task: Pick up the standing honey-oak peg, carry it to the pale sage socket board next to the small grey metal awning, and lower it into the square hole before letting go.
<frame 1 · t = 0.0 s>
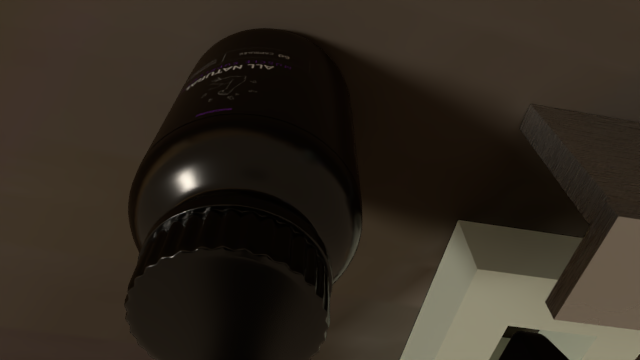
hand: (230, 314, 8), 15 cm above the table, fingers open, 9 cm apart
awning: (609, 131, 23), on the table
supplement bottle: (268, 101, 22), on the table
socket block: (511, 309, 29), on the table
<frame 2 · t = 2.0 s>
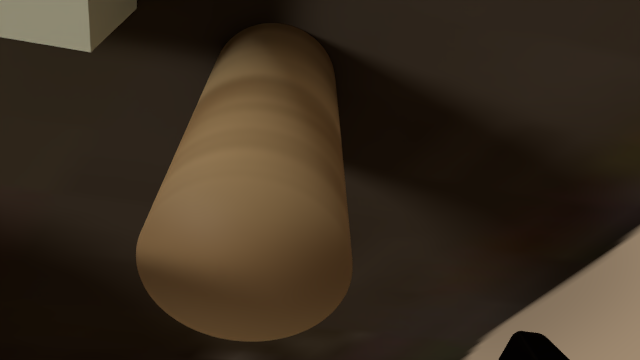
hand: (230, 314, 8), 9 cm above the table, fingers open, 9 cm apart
peg: (274, 83, 15), on the table
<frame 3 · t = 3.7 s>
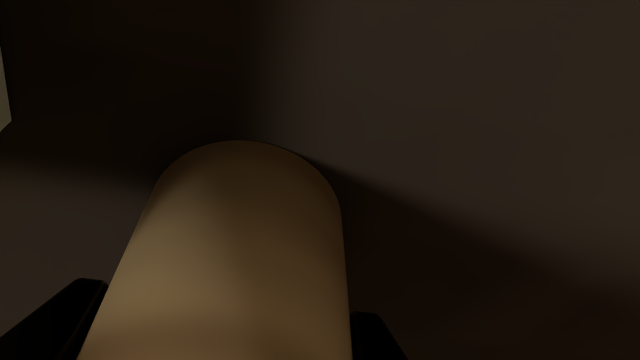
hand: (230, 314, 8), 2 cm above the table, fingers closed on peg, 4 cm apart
peg: (246, 224, 10), on the table, touching gripper
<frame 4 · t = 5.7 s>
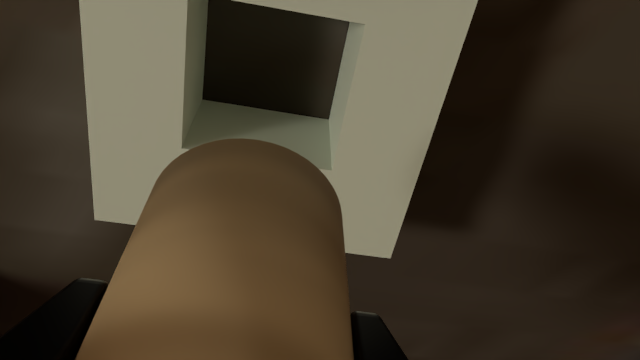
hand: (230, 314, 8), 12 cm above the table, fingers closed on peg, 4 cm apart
peg: (246, 222, 10), point 9 cm above the table, touching gripper
socket block: (274, 48, 17), on the table
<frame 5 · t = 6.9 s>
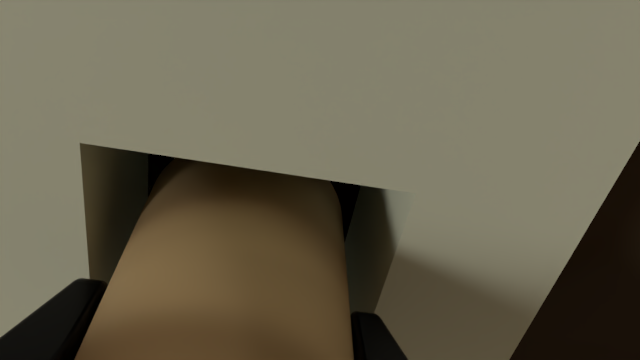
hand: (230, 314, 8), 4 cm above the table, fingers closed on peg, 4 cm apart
peg: (246, 222, 10), point 2 cm above the table, touching gripper
socket block: (256, 172, 11), on the table
when the fingers open (4 cm above the table, at t = 7.7 s): peg drops 2 cm, resting in socket block.
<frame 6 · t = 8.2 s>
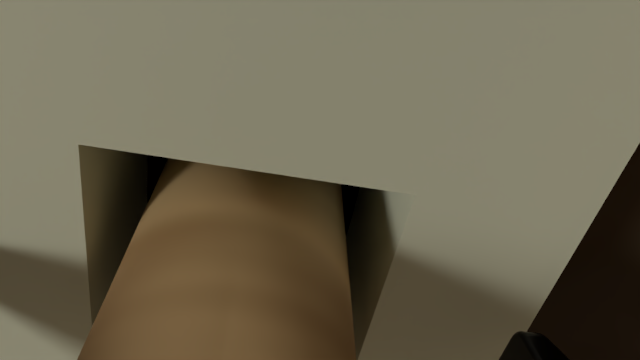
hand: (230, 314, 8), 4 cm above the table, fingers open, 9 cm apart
peg: (256, 171, 11), resting in socket block
socket block: (256, 173, 11), on the table
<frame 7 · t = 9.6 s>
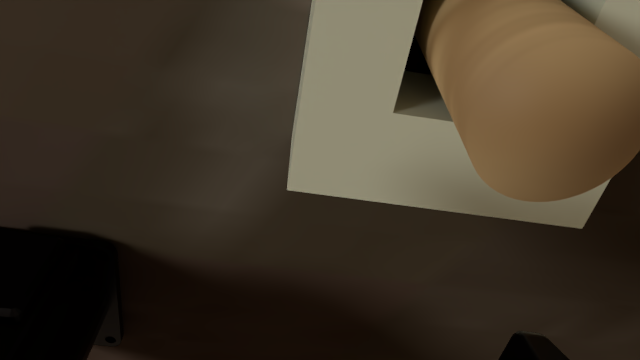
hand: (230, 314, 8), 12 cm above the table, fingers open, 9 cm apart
peg: (466, 10, 17), resting in socket block
socket block: (466, 11, 17), on the table
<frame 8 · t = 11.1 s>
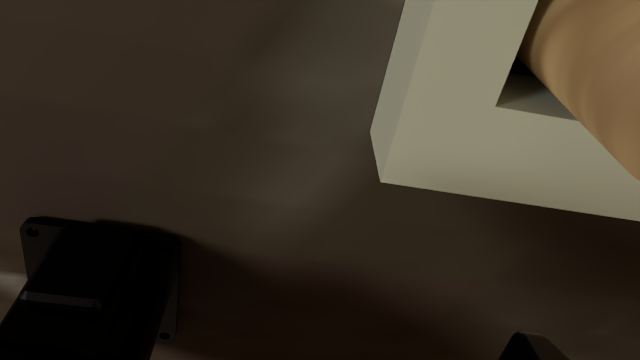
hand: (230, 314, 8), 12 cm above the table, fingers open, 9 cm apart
peg: (554, 10, 17), resting in socket block
socket block: (553, 11, 17), on the table
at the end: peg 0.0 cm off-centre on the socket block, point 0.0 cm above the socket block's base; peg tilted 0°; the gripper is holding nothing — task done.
